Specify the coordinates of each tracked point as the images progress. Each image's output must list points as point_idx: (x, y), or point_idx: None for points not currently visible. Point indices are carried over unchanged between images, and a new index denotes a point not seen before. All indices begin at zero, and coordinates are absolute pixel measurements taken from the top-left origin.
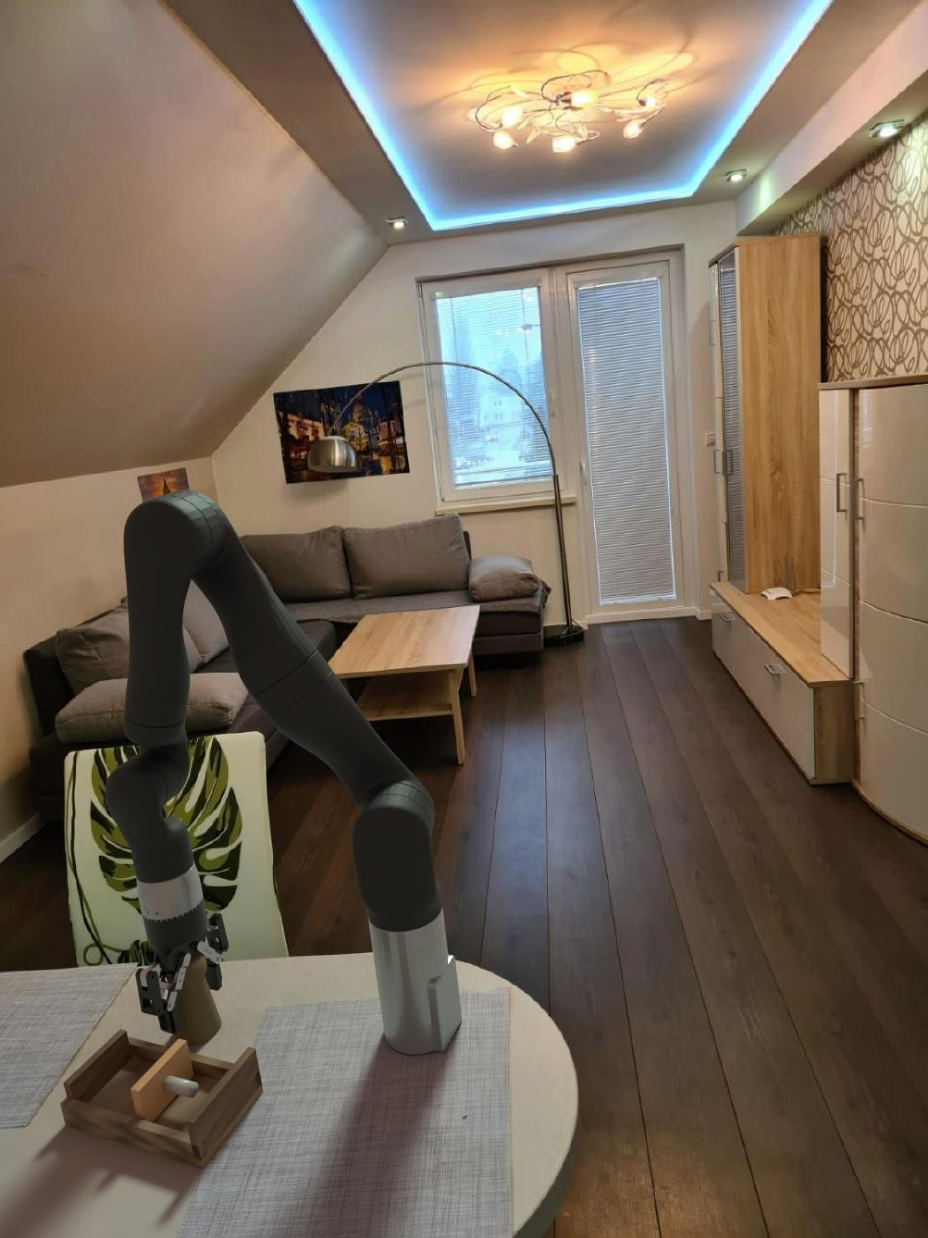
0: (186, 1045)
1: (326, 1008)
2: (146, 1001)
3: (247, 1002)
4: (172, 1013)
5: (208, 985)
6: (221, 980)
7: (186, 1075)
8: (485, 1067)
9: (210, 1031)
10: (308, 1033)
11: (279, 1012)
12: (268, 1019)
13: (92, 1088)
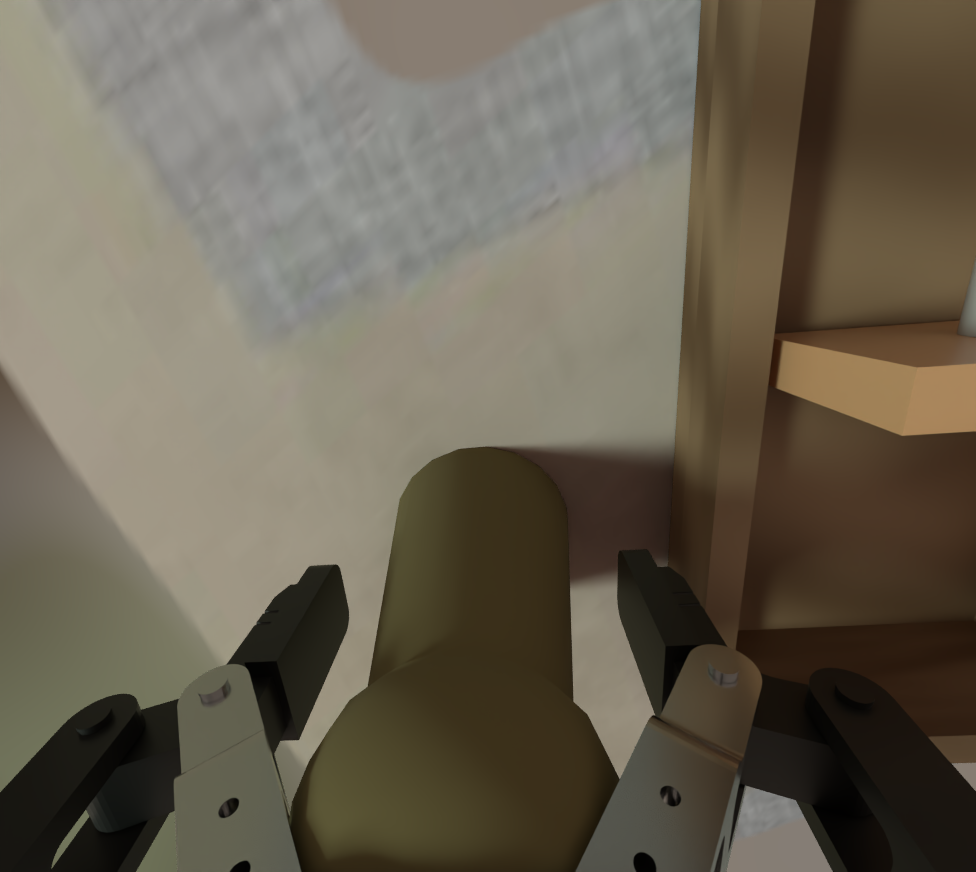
0: (900, 362)
1: (116, 31)
2: (873, 844)
3: (286, 450)
4: (690, 626)
5: (340, 623)
6: (288, 589)
7: (822, 336)
8: None
9: (497, 462)
10: (297, 3)
11: (262, 270)
12: (318, 290)
13: (918, 647)
